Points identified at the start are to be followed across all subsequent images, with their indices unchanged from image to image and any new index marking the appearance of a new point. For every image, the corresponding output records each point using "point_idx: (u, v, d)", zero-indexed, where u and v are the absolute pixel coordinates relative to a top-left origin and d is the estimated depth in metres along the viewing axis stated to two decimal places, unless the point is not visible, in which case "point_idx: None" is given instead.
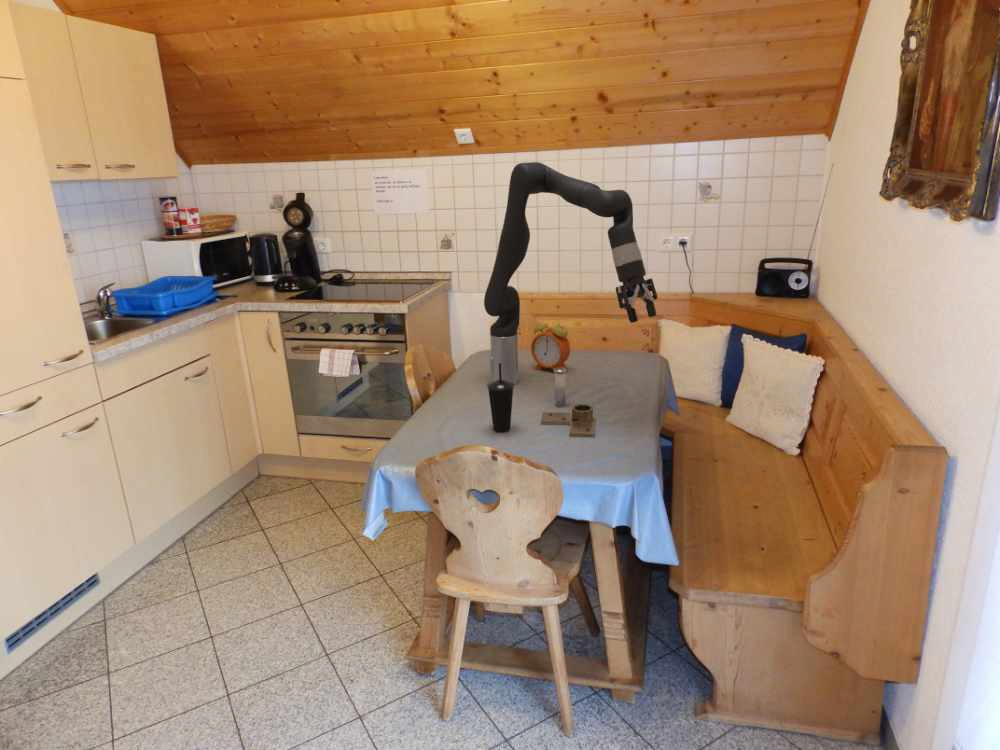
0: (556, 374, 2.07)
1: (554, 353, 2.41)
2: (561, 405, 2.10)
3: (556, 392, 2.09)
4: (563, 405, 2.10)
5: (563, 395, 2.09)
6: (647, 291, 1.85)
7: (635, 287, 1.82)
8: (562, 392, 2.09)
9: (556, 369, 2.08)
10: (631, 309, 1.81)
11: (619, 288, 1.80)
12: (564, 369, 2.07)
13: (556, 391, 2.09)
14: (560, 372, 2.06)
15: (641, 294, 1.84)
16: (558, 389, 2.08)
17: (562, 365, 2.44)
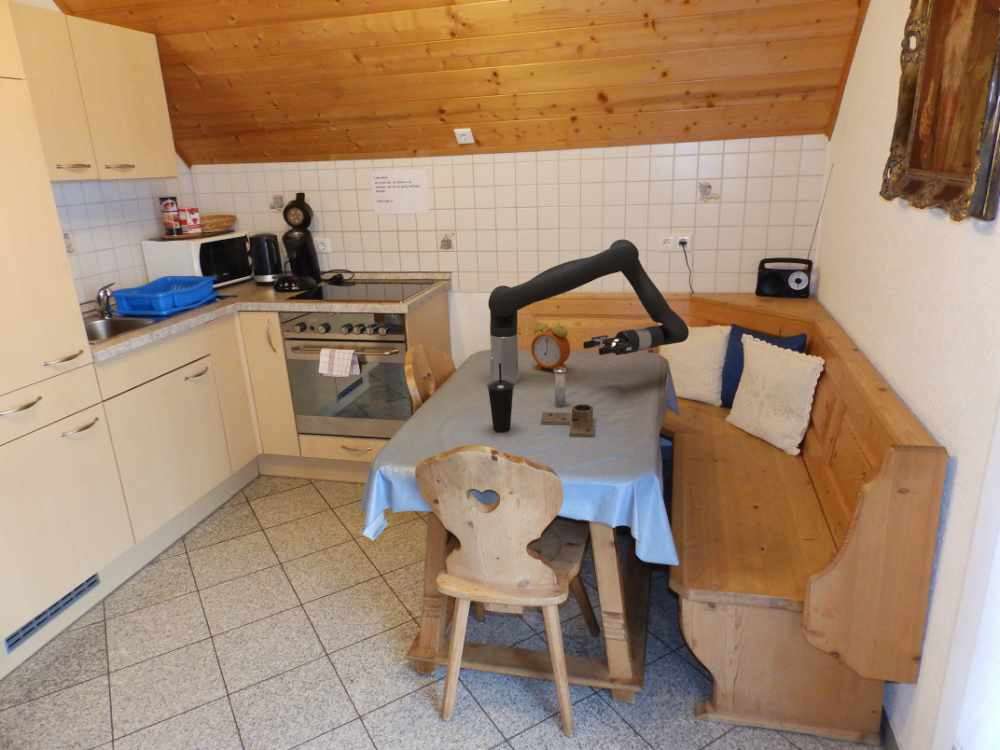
0: (556, 374, 2.07)
1: (554, 353, 2.41)
2: (561, 405, 2.10)
3: (556, 392, 2.09)
4: (563, 405, 2.10)
5: (563, 395, 2.09)
6: None
7: None
8: (562, 392, 2.09)
9: (556, 369, 2.08)
10: None
11: (630, 348, 2.09)
12: (564, 369, 2.07)
13: (556, 391, 2.09)
14: (560, 372, 2.06)
15: None
16: (558, 389, 2.08)
17: (562, 365, 2.44)
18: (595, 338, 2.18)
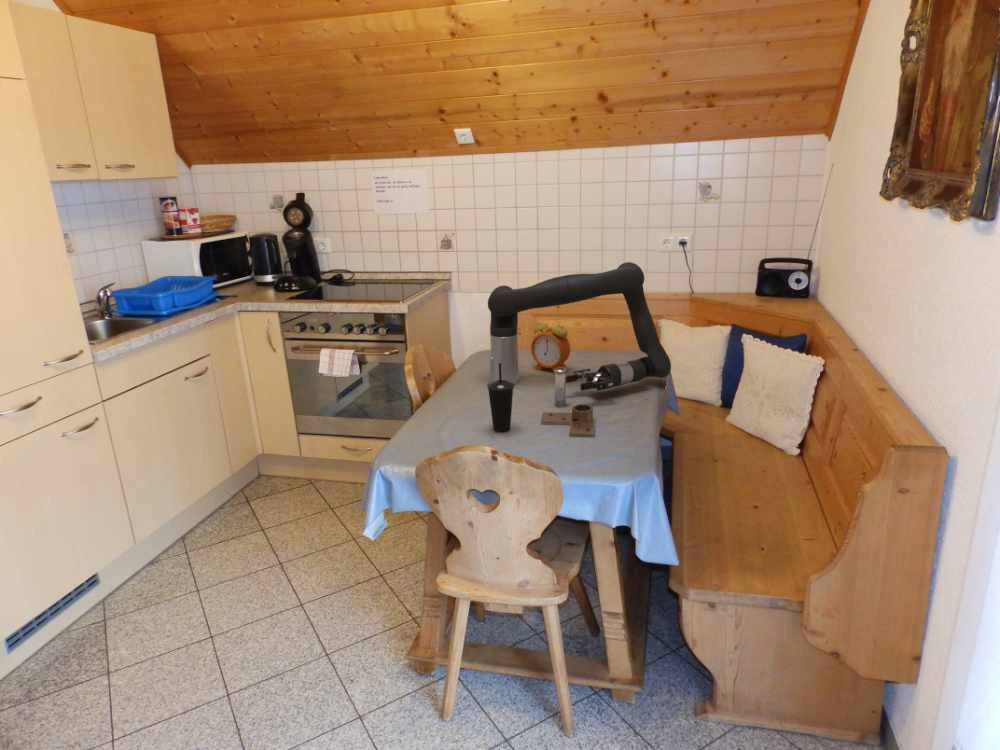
0: (556, 374, 2.07)
1: (554, 353, 2.41)
2: (561, 405, 2.10)
3: (556, 392, 2.09)
4: (563, 405, 2.10)
5: (563, 395, 2.09)
6: None
7: None
8: (562, 392, 2.09)
9: (556, 369, 2.08)
10: None
11: (611, 384, 2.10)
12: (564, 369, 2.07)
13: (556, 391, 2.09)
14: (560, 372, 2.06)
15: None
16: (558, 389, 2.08)
17: (562, 365, 2.44)
18: (577, 372, 2.19)
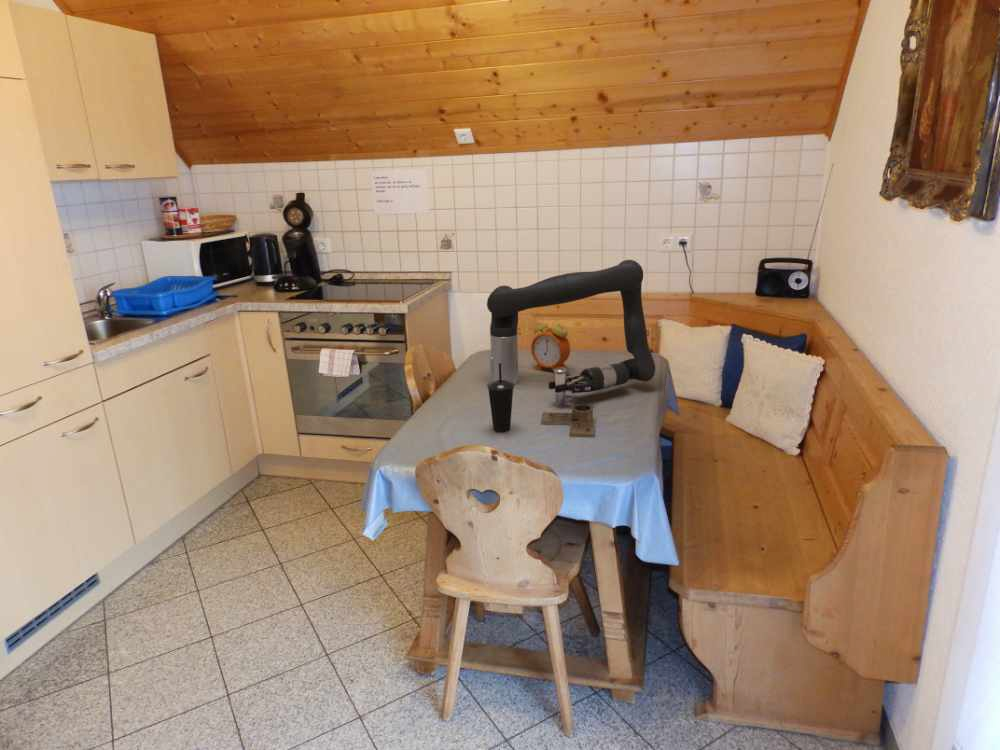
0: (556, 374, 2.07)
1: (554, 353, 2.41)
2: (561, 405, 2.10)
3: None
4: (563, 405, 2.10)
5: (563, 395, 2.09)
6: None
7: None
8: (562, 392, 2.09)
9: (556, 369, 2.08)
10: None
11: (588, 388, 2.07)
12: (564, 369, 2.07)
13: None
14: (560, 372, 2.06)
15: None
16: None
17: (562, 365, 2.44)
18: None
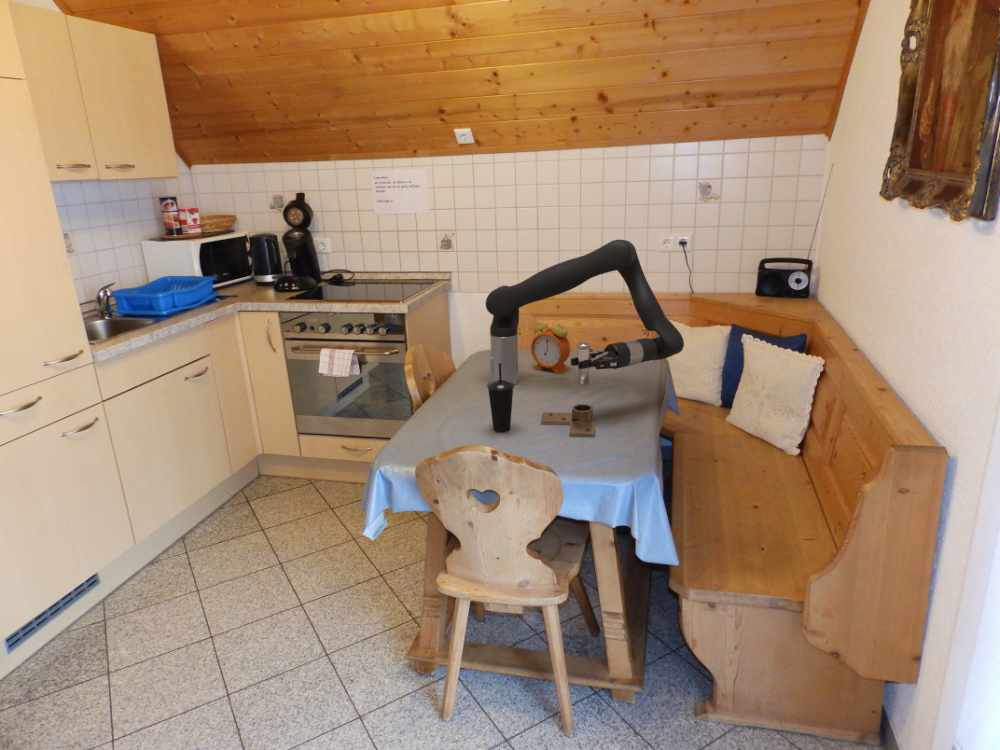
0: (579, 349, 1.92)
1: (554, 353, 2.41)
2: (585, 383, 1.94)
3: (579, 369, 1.94)
4: (587, 383, 1.95)
5: (587, 372, 1.94)
6: None
7: None
8: (586, 369, 1.93)
9: (579, 344, 1.92)
10: None
11: (614, 364, 1.91)
12: (588, 344, 1.92)
13: None
14: (584, 347, 1.91)
15: None
16: None
17: (562, 365, 2.44)
18: None
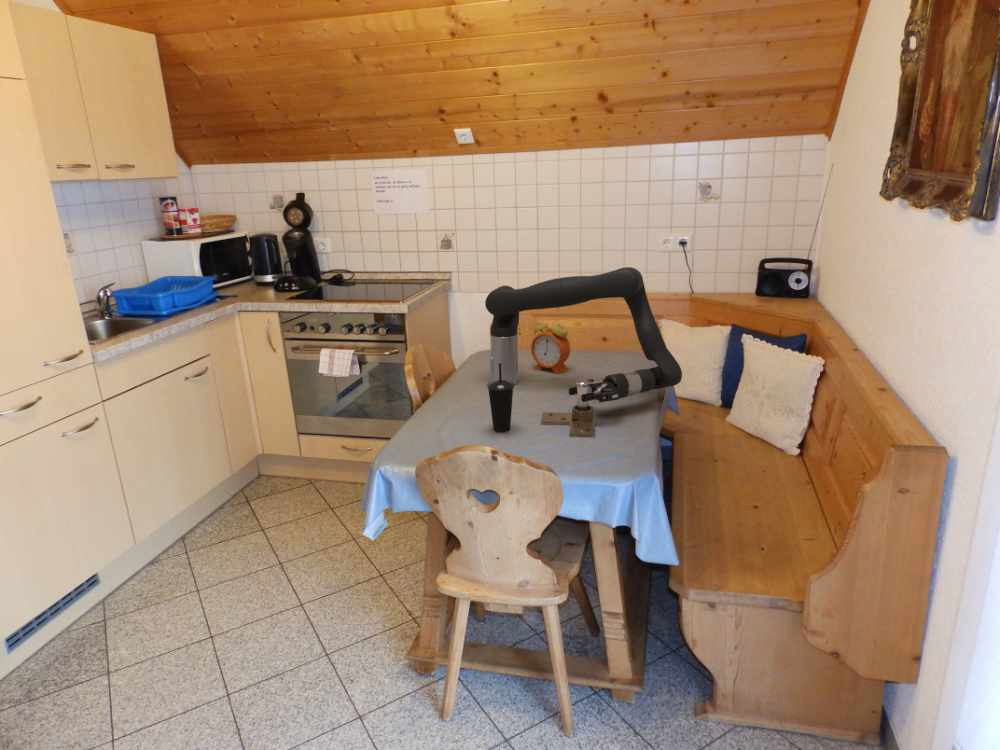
0: (578, 387, 1.95)
1: (554, 353, 2.41)
2: None
3: (578, 406, 1.97)
4: None
5: (586, 409, 1.97)
6: None
7: (606, 396, 1.98)
8: (585, 406, 1.97)
9: (578, 382, 1.96)
10: None
11: (616, 396, 1.94)
12: (587, 382, 1.95)
13: (578, 405, 1.97)
14: (583, 385, 1.94)
15: None
16: (581, 403, 1.96)
17: (562, 365, 2.44)
18: None
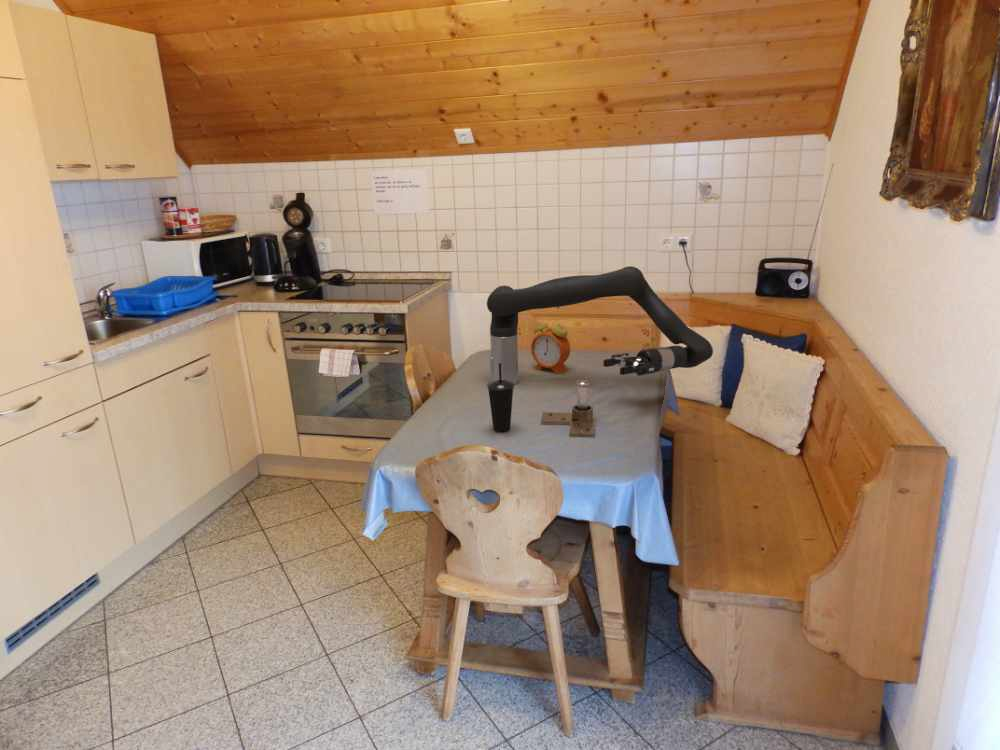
0: (579, 387, 1.95)
1: (554, 353, 2.41)
2: None
3: (578, 406, 1.97)
4: None
5: (586, 409, 1.97)
6: None
7: None
8: (585, 406, 1.97)
9: (579, 382, 1.96)
10: None
11: (652, 369, 2.00)
12: (587, 382, 1.95)
13: (578, 405, 1.97)
14: (583, 385, 1.94)
15: None
16: (581, 403, 1.96)
17: (562, 365, 2.44)
18: (615, 356, 2.08)
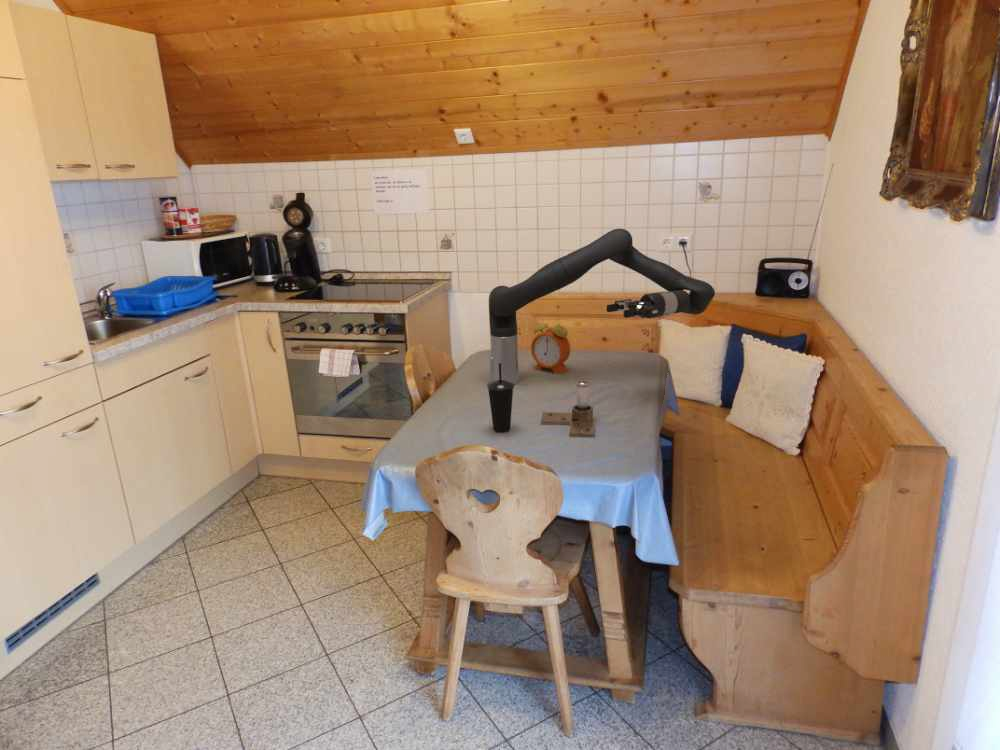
0: (579, 387, 1.95)
1: (554, 353, 2.41)
2: None
3: (578, 406, 1.97)
4: None
5: (586, 409, 1.97)
6: None
7: None
8: (585, 406, 1.97)
9: (578, 382, 1.96)
10: None
11: (656, 311, 1.99)
12: (587, 382, 1.95)
13: (578, 405, 1.97)
14: (583, 385, 1.94)
15: None
16: (581, 403, 1.96)
17: (562, 365, 2.44)
18: (618, 302, 2.08)
